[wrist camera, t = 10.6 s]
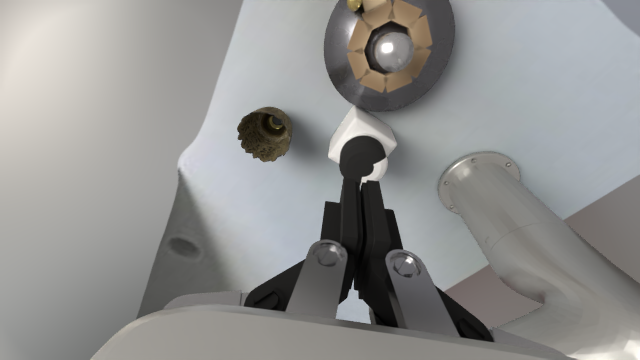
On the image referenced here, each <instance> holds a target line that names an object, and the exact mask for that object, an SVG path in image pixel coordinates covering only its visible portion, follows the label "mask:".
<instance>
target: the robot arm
mask: <svg viewBox="0 0 640 360" xmlns="http://www.w3.org/2000/svg"><path fill="white" fill-rule="evenodd" d="M438 195H439V197H440V200H441V201H442V203H443V205H444V206H445V207H446V208H447V209H449V210H450V211H452V212H454V213H457V214H460V215H461V217H462V219H463V220H464V222H465V224H466V225H467V227H468V229H469V230H470V232H471V234H472V235H473V237H474V239H475V240H476V242H477V243H478V245H479V247H480V248H481V250H482V252H483V253H484V255H485V257H486V258H487V260H488V262H489V263H490V265H491V266H492V268H493V270H494V271H495V273H496V274H497V276H498V277H499V278H500V279H501V280H502V282H503V283H504V284H506V285H507V286H508V287H510V288H511V289H512V290H514V291H516V292H517V293H519V294H521V295H523V296H525V297H527V298H530V299H532V300H534V301H537V302H539V303H542V304H543V305H542V306H541V307H540V308H538V309H536V310H534V311H532V312H530V313H529V314H527V315H524V316H522V317H520V318H517V319H515V320H512V321H510V322H508V323H505V324H503V325H500V326H498V327H496V328H494V327H491V328H490V329H488V328H486V326H485V325H484V324H483V323H482V322H481V321H480V320H478V319H477V318H476V317H475V316H473V315H472V314H471V313H469V312H468V311H467V310H466V309H464V308H463V307H462V306H461V305H459V304H458V303H457V302H456V301H454V300H453V299H452V298H450V297H449V296H448V295H447V294H445V293H444V292H443V291H442V290H440V289H439V288H438V287H436V286H435V285H434V283H433V281H432V279H431V277H430V275H429V273H428V271H427V269H426V267H425V265H424V264H423V262H422V261H421V259H420V258H418V257H417V256H416V255H415V254H413V253H411V252H409V251H406V250H403V246H402V242H401V238H400V234H399V230H398V226H397V222H396V218H395V214H394V211H393V210H391V209H384V204H383V199H382V194H381V189H380V184H379V181H373V180H367V181H366V183H365V182H362V185H361V190H360V185H359V182H357V181H355V178H348V177H344V179H343V185H342V191H341V197H340V203H336V202H328V201H325V208H324V216H323V223H322V231H321V238H320V241H317V242H315V243H314V244H313V245H312V246H311V247H310V249H309V251H308V254H307V256H306V259H305V260H303V261H301V262H299V263H298V264H296V265H294V266H292V267H291V268H289V269H287V270H286V271H284V272H282V273H280V274H279V275H277V276H275V277H273V278H272V279H270V280H268V281H267V282H265V283H263V284H261V285H260V286H258V287H256V288H255V289H254V290H252V291H251V292H250V293H242V292H241V290H239V291H227V292H214V293H201V294H188V295H183V296H179V297H177V298H176V299H174V300H172V301H171V302H170V303H168V304H167V305H166V306H165V308H164V309H163V310H161V311H158V312H154V313H152V314H149V315H146V316H144V317H141V318H139V319H137V320H135V321H133V322H131V323H129V324H128V325H127V326H125V327H124V328H122V329H121V330H120V331H119V332H117V333H116V334H115V335H114V336H113V337H112V338H111V339H110V340H108V341H107V342H106V343H105V344H104V345H103V346H102V347H101V348H100V350H99V351H98V352H97V353H96V354H95V355H94V356H93V357H92V358H91V359H90V360H640V283H638V282H637V281H636V280H634V279H633V278H632V277H630V276H629V275H628V274H626V273H625V272H624V271H622V270H621V269H620V268H618V267H617V266H616V265H614V264H613V263H612V262H611V261H609V260H608V259H607V258H606V257H605V256H603V255H602V254H601V253H600V252H599V251H597V250H596V249H595V248H594V247H593V246H591V245H590V244H589V243H588V242H587V241H586V240H585V239H583V238H582V237H581V236H580V235H579V234H578V233H576V232H575V231H574V230H573V229H572V228H571V227H570V226H569V225H567V224H566V223H565V222H564V221H563V220H562V219H561V218H560V217H559V216H557V215H556V214H555V213H554V212H553V211H552V210H551V209H550V208H548V207H547V206H546V205H545V204H544V203H543V202H542V201H541V200H539V199H538V198H537V197H536V196H535V195H534V194H533V193H532V192H530V191H529V190H528V189H527V188H526V187H525V186H524V185H523V184H521V183H520V173H519V169H518V167H517V165H516V164H515V163H514V162H513V161H512V160H511V159H509V158H508V157H507V156H505V155H502V154H500V153H496V152H478V153H474V154H470V155H467V156H465V157H463V158H461V159H459V160H458V161H456V162H454V163H453V164H452V165H451V166H450V167H448V169H447V170H446V171H445V172H444V173H443V175H442V177H441V178H440V181H439V184H438ZM353 278H354V290H358V292H359V299H363V300H364V301H365V302H366V304H367V305H368V306H369V316H370V320H371V324H367V323H360V322H353V321H346V320H339V319H335V318H336V313H337V308H338V305H339V304H340V303H341V302H342V301H344V300H345V299H346V298H347V297H348V292H349V289H351V286H352V282H353Z"/></svg>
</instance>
